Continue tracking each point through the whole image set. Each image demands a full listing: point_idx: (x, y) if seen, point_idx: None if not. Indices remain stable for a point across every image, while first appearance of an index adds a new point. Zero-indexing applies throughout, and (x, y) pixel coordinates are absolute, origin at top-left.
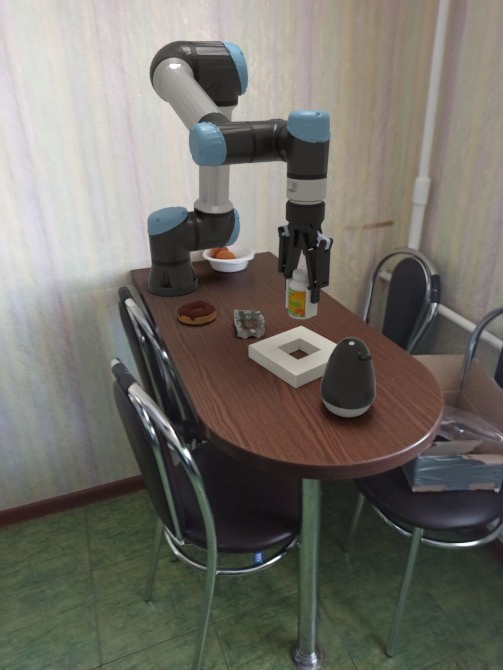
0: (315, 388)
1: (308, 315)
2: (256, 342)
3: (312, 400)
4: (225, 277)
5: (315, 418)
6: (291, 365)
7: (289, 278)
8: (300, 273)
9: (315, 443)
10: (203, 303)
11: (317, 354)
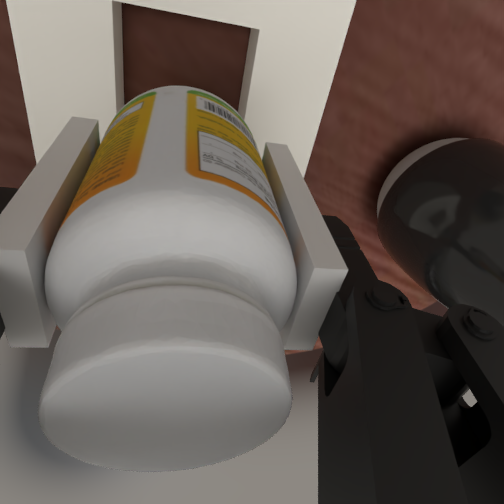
0: (323, 168)
1: None
2: None
3: (341, 210)
4: None
5: (374, 247)
6: None
7: (2, 322)
8: (199, 449)
9: (401, 288)
10: None
11: (268, 77)
